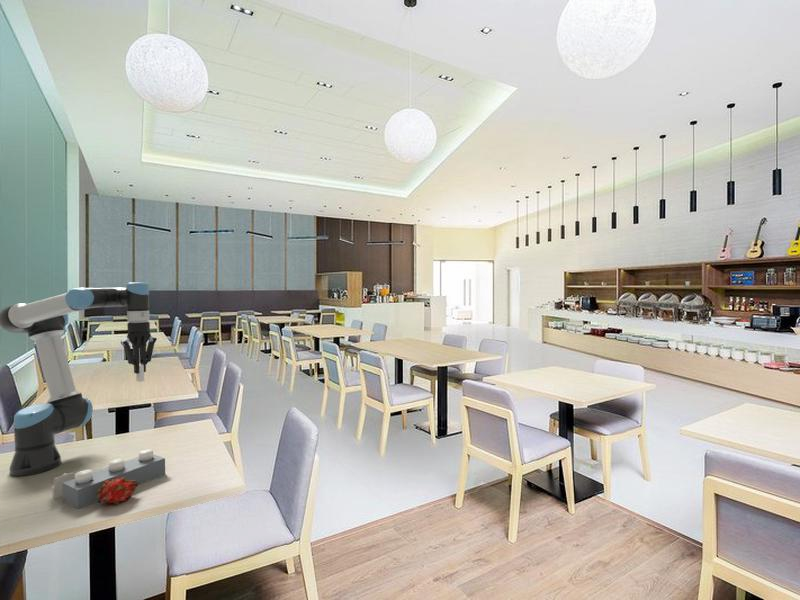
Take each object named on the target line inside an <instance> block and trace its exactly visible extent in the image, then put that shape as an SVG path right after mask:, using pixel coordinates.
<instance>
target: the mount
mask: <svg viewBox="0 0 800 600" xmlns="http://www.w3.org/2000/svg"><path fill="white" fill-rule="evenodd" d="M164 475H166V458H165V457H163V456H160V455H157V454H154V453H153V458H152V459H151V460H149V461H146V462H142V461H140V460H139V456H137V457H134V458H131V459H128V460H125V468H124V469H122V470H121V471H119V472H116V473H112V471H109V466H108V467H105V468H102V469H99V470H95V471H93V479H92V480H90V482H88V483H85V484H82V485H79V483H75V479H72V480H70V481H67V482H64V483H63V496H62V501H63V502H65V503H67V504H68V505H70V506H72V507H73V508H76V509H82V508H84V507H86V506H88V505H91V504H94V503H96V502H99V500H101V499H100V498H97V496H96V495H97V490H98V489H99V488H100V487H101V485H103V484H106V482H105V481H111V480H113V479H115V478H117V479H120V478H121V477H124V478H125V480H135V481H136V482H137V483H138V486H139V485H142V484H144V483H147V482H150V481H151V480H155V479H157V478H159V477H162V476H164ZM137 483H136V484H137ZM101 501H102V500H101Z"/></svg>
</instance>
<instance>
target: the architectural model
mask: <svg viewBox="0 0 800 600" xmlns="http://www.w3.org/2000/svg"><path fill="white" fill-rule="evenodd" d="M72 479H75V471H73V472H70V473H66V472H64V473H63V474H62V475H58V476H57V477H54V478H53V482H52V486H51V493H52V494H51V495H52V499H54V500H57V499H59V498H63V483H64V482H67V481H70V480H72Z"/></svg>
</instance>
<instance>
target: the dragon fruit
mask: <svg viewBox="0 0 800 600" xmlns="http://www.w3.org/2000/svg"><path fill="white" fill-rule="evenodd" d="M105 482H106V484H103V485H101V487H100V488H99V489H98V490H97V495H96V496H97V498H100V499H101V500H99V501H98V504H107V505H112V504H114V505H119V503H120V502H123V501H126V502H127V501H128V500H130V499H131V498H132V494H133V493H134V492H135V490H136V489H137V488H138V486H139V485H138V483H137V482H136V481H135V480H125V478H124V477H121V478H120V479H117V478H115V479H113V480H111V481H105ZM136 483H137V484H136Z"/></svg>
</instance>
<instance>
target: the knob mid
mask: <svg viewBox="0 0 800 600" xmlns="http://www.w3.org/2000/svg"><path fill="white" fill-rule="evenodd" d="M125 461H126V460H125V459H124V458H118V459H117V458H116V459H113V460H111V461H109V462H108V467H109V471H112V473H116V472H119V471H121V470H122V469H124V468H125Z"/></svg>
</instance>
